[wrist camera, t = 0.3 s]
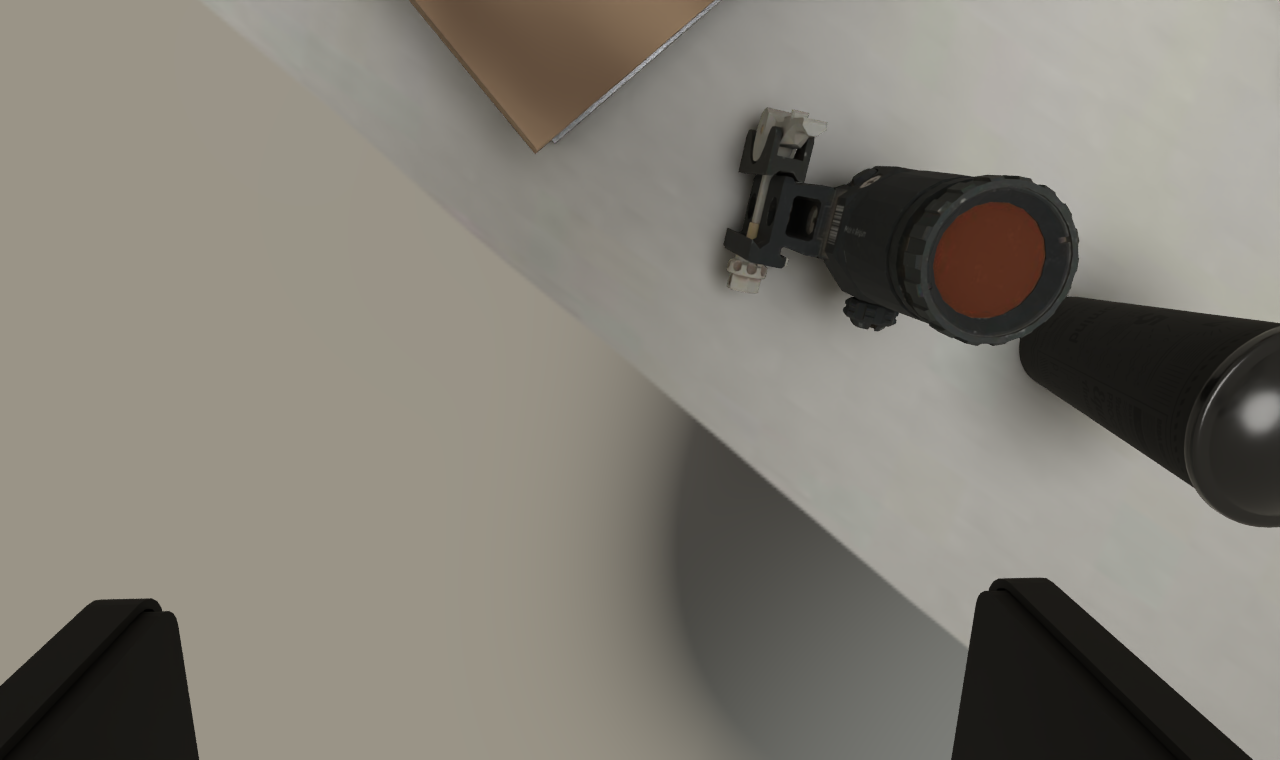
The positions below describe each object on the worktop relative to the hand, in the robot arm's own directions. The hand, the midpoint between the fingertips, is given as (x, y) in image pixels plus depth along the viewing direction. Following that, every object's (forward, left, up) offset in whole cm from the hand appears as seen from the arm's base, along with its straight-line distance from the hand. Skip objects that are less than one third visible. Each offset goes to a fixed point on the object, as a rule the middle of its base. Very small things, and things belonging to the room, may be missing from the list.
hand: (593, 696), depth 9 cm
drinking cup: (-18, +18, -30) cm, 39 cm away
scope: (-12, +5, -30) cm, 33 cm away
